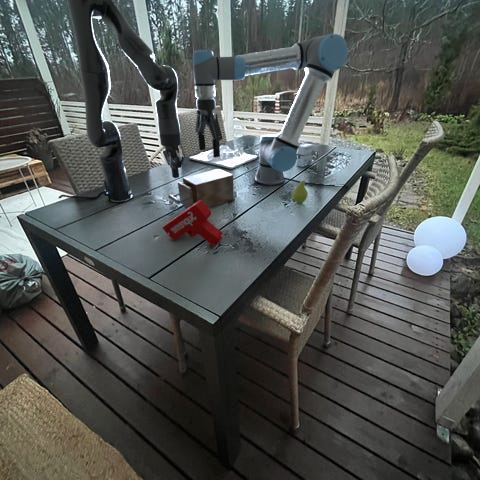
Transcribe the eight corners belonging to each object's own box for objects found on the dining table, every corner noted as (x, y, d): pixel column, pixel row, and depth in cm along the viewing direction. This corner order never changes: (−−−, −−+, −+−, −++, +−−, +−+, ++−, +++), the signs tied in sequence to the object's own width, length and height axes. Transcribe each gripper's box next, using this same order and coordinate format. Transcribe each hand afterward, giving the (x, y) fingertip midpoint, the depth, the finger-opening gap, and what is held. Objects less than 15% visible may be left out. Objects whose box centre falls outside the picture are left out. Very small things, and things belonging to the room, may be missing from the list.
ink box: (304, 162, 171) (306, 143, 164) (310, 164, 168) (313, 144, 161) (296, 165, 166) (298, 145, 159) (302, 167, 163) (305, 147, 156)
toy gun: (229, 234, 92) (201, 198, 88) (224, 240, 88) (196, 203, 84) (194, 253, 102) (168, 222, 98) (189, 259, 98) (162, 227, 94)
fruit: (288, 200, 123) (290, 174, 116) (302, 197, 125) (305, 172, 119) (296, 206, 118) (299, 179, 111) (310, 203, 120) (314, 177, 114)
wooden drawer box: (198, 211, 114) (195, 185, 108) (185, 203, 122) (182, 177, 115) (233, 199, 124) (233, 174, 118) (219, 192, 131) (218, 168, 125)
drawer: (179, 214, 110) (176, 192, 105) (169, 206, 116) (165, 185, 111) (225, 199, 122) (224, 178, 117) (213, 193, 128) (211, 173, 123)
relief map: (231, 168, 161) (231, 160, 158) (189, 159, 179) (189, 151, 176) (257, 158, 179) (257, 150, 176) (217, 150, 197) (216, 142, 194)
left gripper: (152, 129, 100) (159, 175, 110) (168, 135, 92) (175, 184, 101) (170, 127, 104) (176, 171, 114) (187, 132, 95) (192, 179, 105)
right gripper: (184, 96, 113) (189, 148, 125) (211, 101, 95) (215, 161, 107) (200, 95, 117) (204, 146, 128) (230, 100, 99) (231, 158, 110)
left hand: (176, 177), depth 107 cm, fingers closed
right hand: (209, 153), depth 118 cm, fingers open, 13 cm apart
